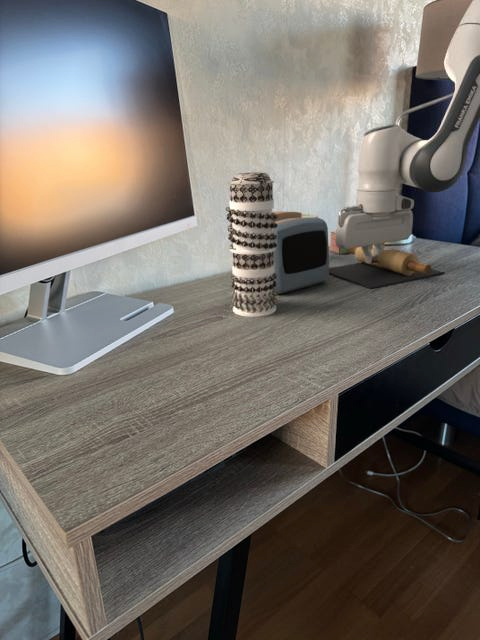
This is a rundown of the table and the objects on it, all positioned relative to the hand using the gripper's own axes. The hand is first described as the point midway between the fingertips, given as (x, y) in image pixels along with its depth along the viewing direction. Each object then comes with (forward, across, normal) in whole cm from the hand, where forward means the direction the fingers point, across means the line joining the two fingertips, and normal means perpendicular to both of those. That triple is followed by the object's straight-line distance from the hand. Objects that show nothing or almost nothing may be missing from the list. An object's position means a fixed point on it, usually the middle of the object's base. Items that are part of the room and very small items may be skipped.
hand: (372, 262), depth 106 cm
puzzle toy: (+3, +9, +22) cm, 24 cm away
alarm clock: (+3, -22, +5) cm, 23 cm away
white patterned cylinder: (+3, -36, -8) cm, 37 cm away
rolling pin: (+2, +4, 0) cm, 5 cm away
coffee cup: (+3, -7, +19) cm, 21 cm away
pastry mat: (+2, +2, -1) cm, 3 cm away
